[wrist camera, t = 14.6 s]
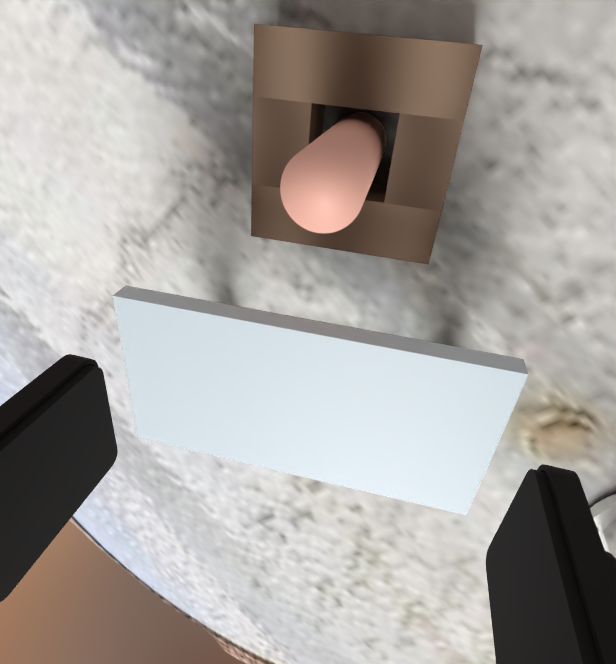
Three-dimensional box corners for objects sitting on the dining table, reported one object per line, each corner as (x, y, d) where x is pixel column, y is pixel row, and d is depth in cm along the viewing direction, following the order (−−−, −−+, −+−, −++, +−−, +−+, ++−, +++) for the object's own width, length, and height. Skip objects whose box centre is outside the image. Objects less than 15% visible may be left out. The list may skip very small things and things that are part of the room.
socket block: (474, 46, 24) (482, 44, 21) (428, 241, 30) (428, 264, 27) (276, 27, 26) (254, 23, 22) (269, 216, 31) (251, 235, 28)
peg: (390, 115, 27) (370, 152, 17) (381, 174, 28) (358, 239, 18) (334, 108, 27) (282, 140, 17) (328, 167, 29) (278, 226, 19)
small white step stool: (492, 265, 30) (528, 374, 20) (454, 382, 35) (466, 515, 25) (209, 220, 33) (112, 295, 22) (213, 335, 38) (137, 437, 28)
